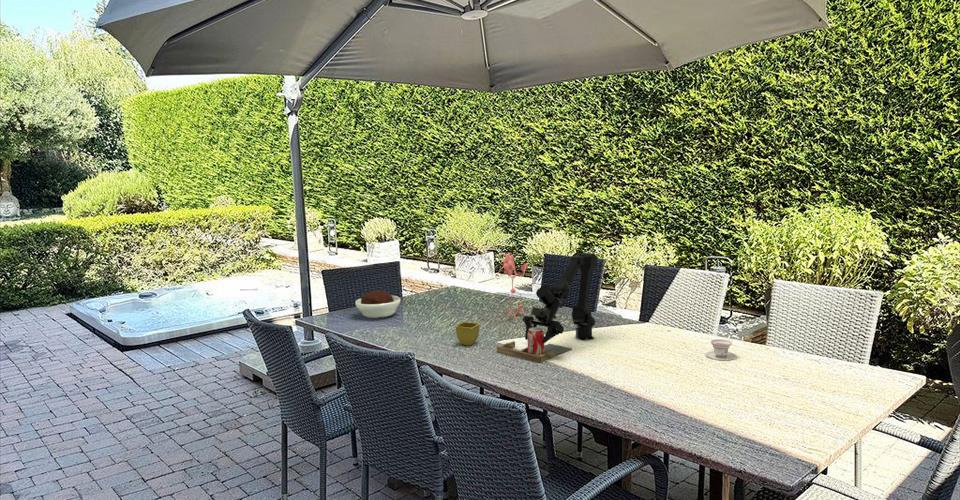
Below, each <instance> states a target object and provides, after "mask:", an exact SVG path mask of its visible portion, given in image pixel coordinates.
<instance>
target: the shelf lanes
mask: <svg viewBox="0 0 960 500" xmlns="http://www.w3.org/2000/svg"><path fill="white" fill-rule="evenodd" d="M514 348H516V341H513V340H512V341H509V342H507V343H504V344H500V345H498V346H496V353H497V354H498V353H499V354H502V355H505V356H511V357H514V358H519V359H522V360H527V361H530V362H534V363H537V364H541V363H543V362H545V361H547V360H550V359H552V358H555V357H556V356H555V351H554V350H552V351H550V352H547V353H545V354H542V355H539V356H538V355H533V354H529V353H528V346H527V347H525V348H522V349H518V350H516V349H514Z"/></svg>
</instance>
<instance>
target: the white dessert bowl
mask: <svg viewBox="0 0 960 500" xmlns="http://www.w3.org/2000/svg"><path fill="white" fill-rule="evenodd" d="M400 303H401V298H400V297H399V296H397V295H392V294H390V293H389V292H388V293H387V291H386V290H371V291H369V292H365V293H364V294H363V295H362V296H361V298H358V299H356V300H355V306H356V308H357V309H358V310H359V311H360V313H361V314H362V316H363V317H365V318H371V319H380V318H379V317H382V318H386V317H389V316H392V315H393V314H395V312H396V310H397V308H398V307H399V305H400Z"/></svg>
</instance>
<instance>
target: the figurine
mask: <svg viewBox="0 0 960 500" xmlns="http://www.w3.org/2000/svg"><path fill="white" fill-rule="evenodd" d="M502 264H503V266H502V267H501V268H500V270H499V271H498V272H497V273H496V274H495V275H496V276H498V275H499V273H500V272H501V271H502V269H504V271H503V274H504V275H507V277H510V279H511V289H510V292H511V296H513V294H516V293H517V294H519V306H518V307H517V309H516V312H515V313H516V315H519V314H520V312H522V315H523V317H524V316H526V313H524V310H523V305H522V303H521V301H522V299H521V298H522V294H521V292H518V291H517V290H516V288H514V279H515V278H516V277H517V276H519V277H524V275H525V272H526V270H527V269H528V267H529V263H528V262H526V263H525V262H524V264H523V265H521V267H520V268H521V271H522V272H523V274H518V273H517V271H516V265H515V260H514V254H510V252H508V253H505V257H504V258H503V259H502ZM513 272H514V275H513ZM512 275H513V276H512ZM510 305H511V307H510V312H509V314H508V315H507V316H506V317H507V318H506V320H508V319H509V318H510V316H511V313H512V315H513V317H514V319H515V321H517V320H518V319H517V317H516V315H515V313H514V311H513V310H514V308H513V299H511V304H510ZM501 315H504V313H503V314H500V315H498V317H500V316H501ZM494 319H495V320H496V321H497V319H496V318H494Z"/></svg>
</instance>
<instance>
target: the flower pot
mask: <svg viewBox="0 0 960 500" xmlns="http://www.w3.org/2000/svg"><path fill="white" fill-rule="evenodd" d="M480 326H481V323H479V322H468V321H463V322H460V323H459V324H457V325H455V326H454V327H455V334H456V337H457V340H458V342H459V343H460V345H462V344H463V346H464V345H465V346H472V345H474V344H475V343H476V341H478V338H479V335H480V328H481V327H480Z"/></svg>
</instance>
